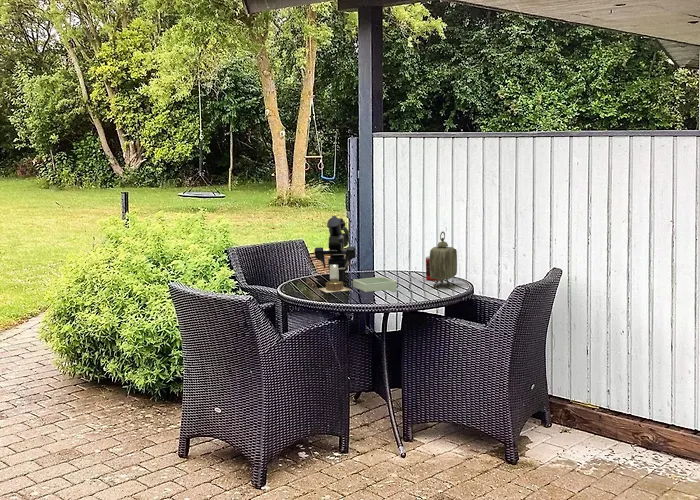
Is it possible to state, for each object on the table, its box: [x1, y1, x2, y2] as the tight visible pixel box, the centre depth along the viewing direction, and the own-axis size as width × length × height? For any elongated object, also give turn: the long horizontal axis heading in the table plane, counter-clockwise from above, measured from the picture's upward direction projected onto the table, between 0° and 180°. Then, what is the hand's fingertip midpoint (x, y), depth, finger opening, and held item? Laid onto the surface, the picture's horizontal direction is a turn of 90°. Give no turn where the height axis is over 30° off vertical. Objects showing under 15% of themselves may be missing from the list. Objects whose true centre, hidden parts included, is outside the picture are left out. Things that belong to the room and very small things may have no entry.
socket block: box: [318, 281, 352, 294], centre depth 350 cm, size 12×12×4 cm
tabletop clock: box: [429, 231, 458, 288], centre depth 354 cm, size 14×9×25 cm, turn 157°
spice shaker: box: [328, 264, 340, 284], centre depth 349 cm, size 5×5×11 cm
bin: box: [352, 276, 398, 293], centre depth 350 cm, size 15×15×4 cm
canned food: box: [425, 255, 441, 282], centre depth 373 cm, size 8×8×11 cm
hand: (334, 267), depth 353 cm, fingers open, 9 cm apart
